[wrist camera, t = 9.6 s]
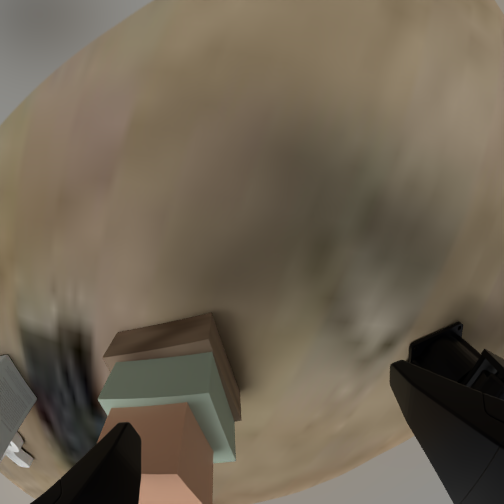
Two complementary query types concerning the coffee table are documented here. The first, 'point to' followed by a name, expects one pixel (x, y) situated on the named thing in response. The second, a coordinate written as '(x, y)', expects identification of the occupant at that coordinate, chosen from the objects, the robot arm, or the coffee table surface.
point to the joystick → (18, 452)
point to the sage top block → (177, 394)
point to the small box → (12, 401)
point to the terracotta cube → (169, 453)
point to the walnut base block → (177, 349)
